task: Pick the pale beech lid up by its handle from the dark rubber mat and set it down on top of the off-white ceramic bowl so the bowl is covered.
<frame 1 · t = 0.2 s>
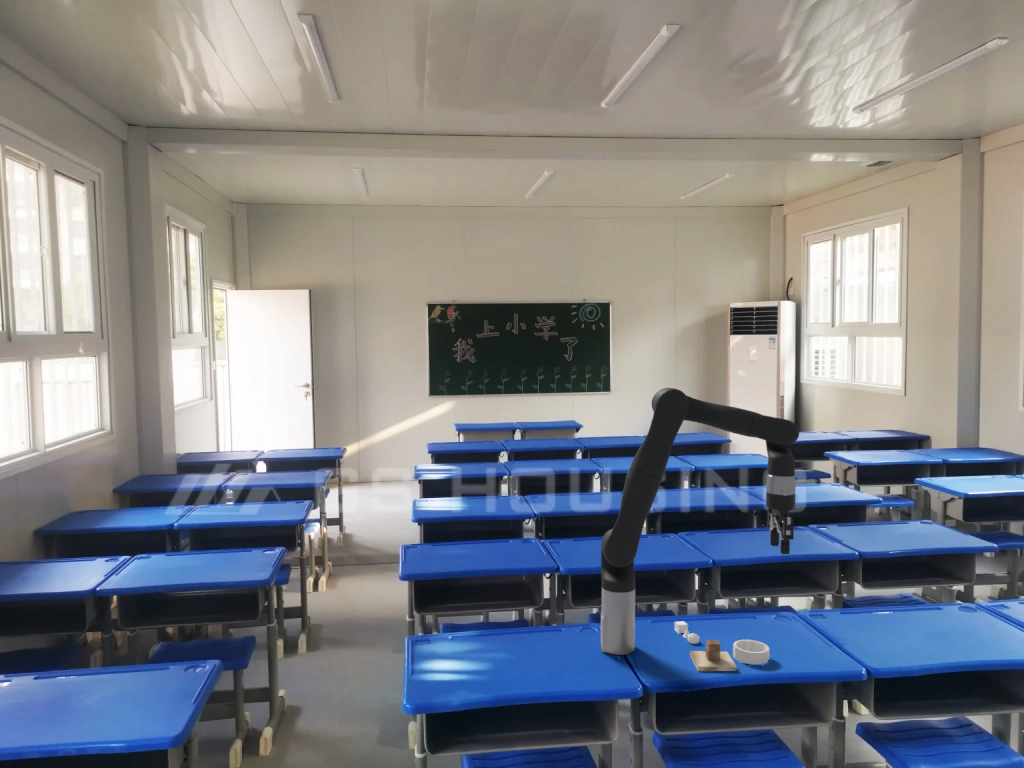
hand: (779, 549, 197), 29 cm above the table, fingers open, 8 cm apart
bowl: (751, 660, 192), on the table
lid: (712, 663, 189), resting on mat
mat: (712, 664, 189), on the table
game pieces: (687, 639, 208), on the table
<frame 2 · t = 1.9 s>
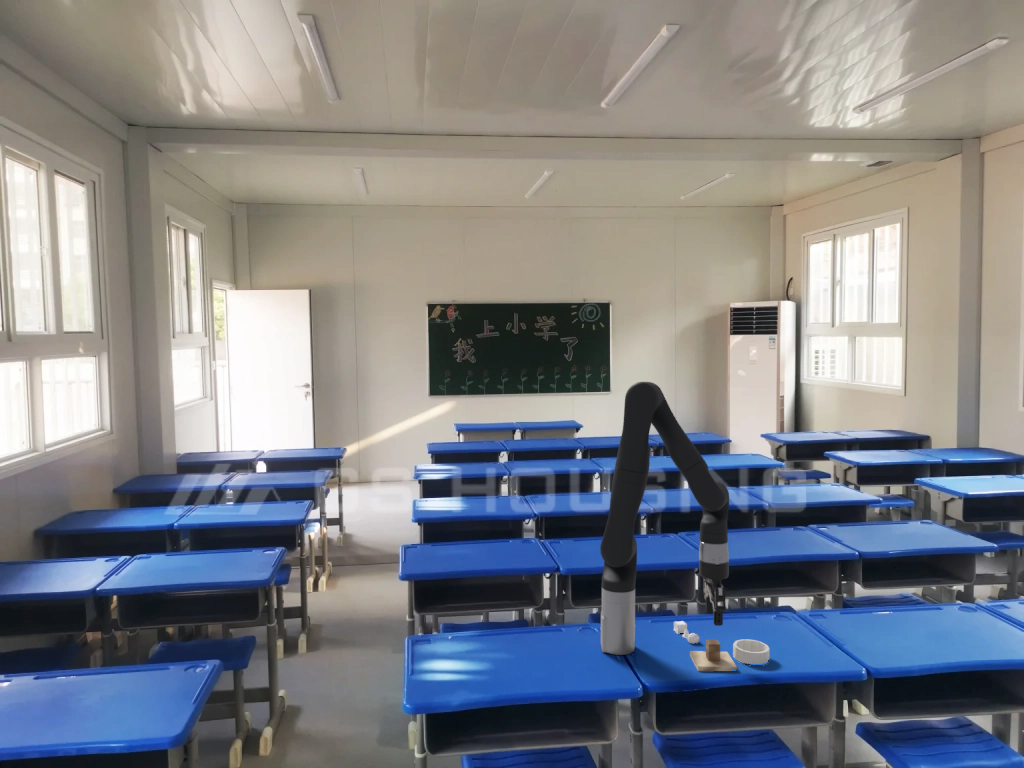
hand: (714, 619, 189), 12 cm above the table, fingers open, 8 cm apart
nothing on the table moved.
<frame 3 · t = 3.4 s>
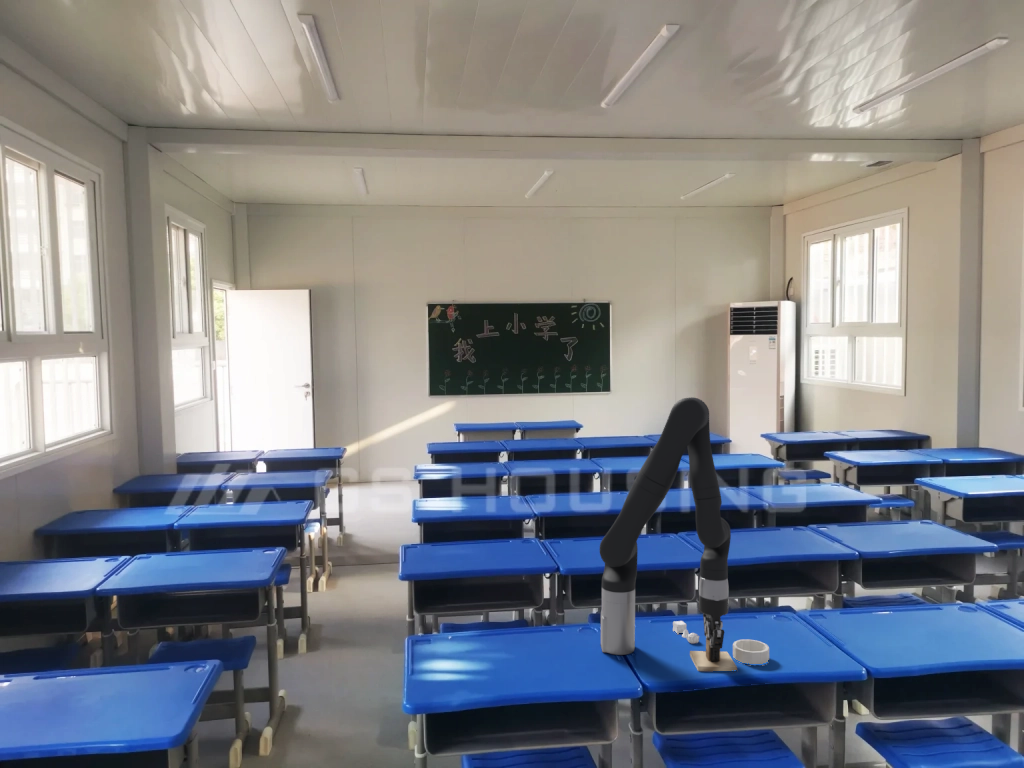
hand: (712, 658, 189), 2 cm above the table, fingers closed on lid, 3 cm apart
lid: (712, 663, 189), resting on mat, touching gripper
everything else where it was.
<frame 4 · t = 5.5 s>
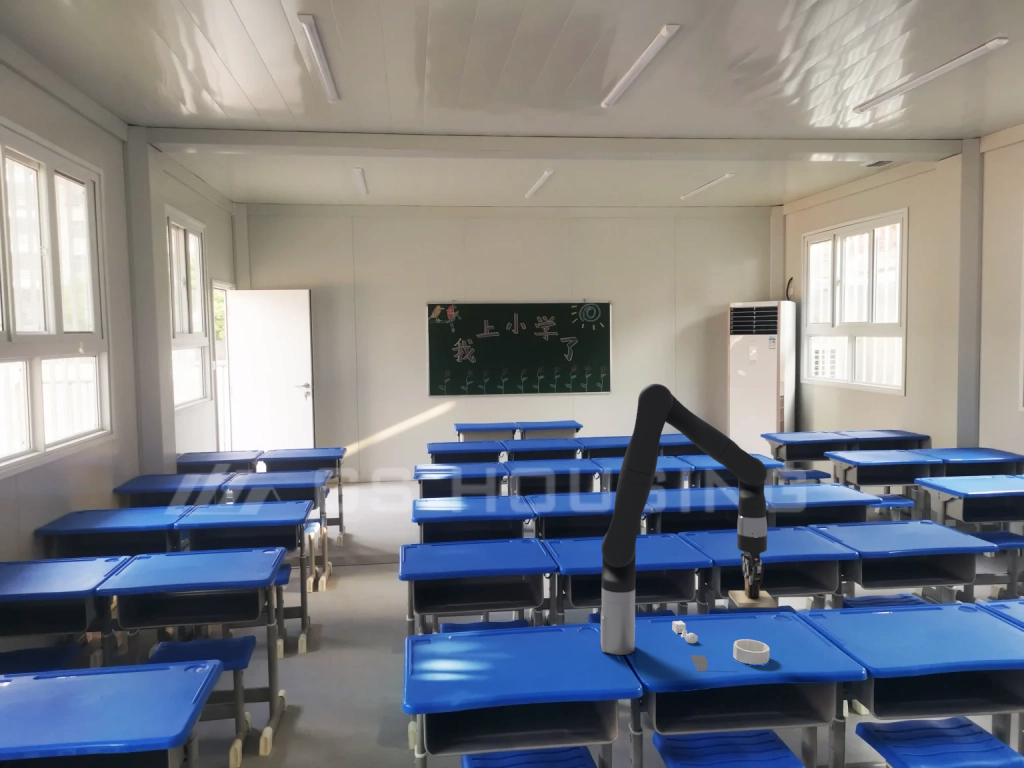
hand: (752, 596, 191), 17 cm above the table, fingers closed on lid, 3 cm apart
lid: (752, 601, 192), point 16 cm above the table, touching gripper
everything else where it was.
when the fingers open (7 cm above the table, at t = 7.8 s): lid drops 1 cm, resting on bowl.
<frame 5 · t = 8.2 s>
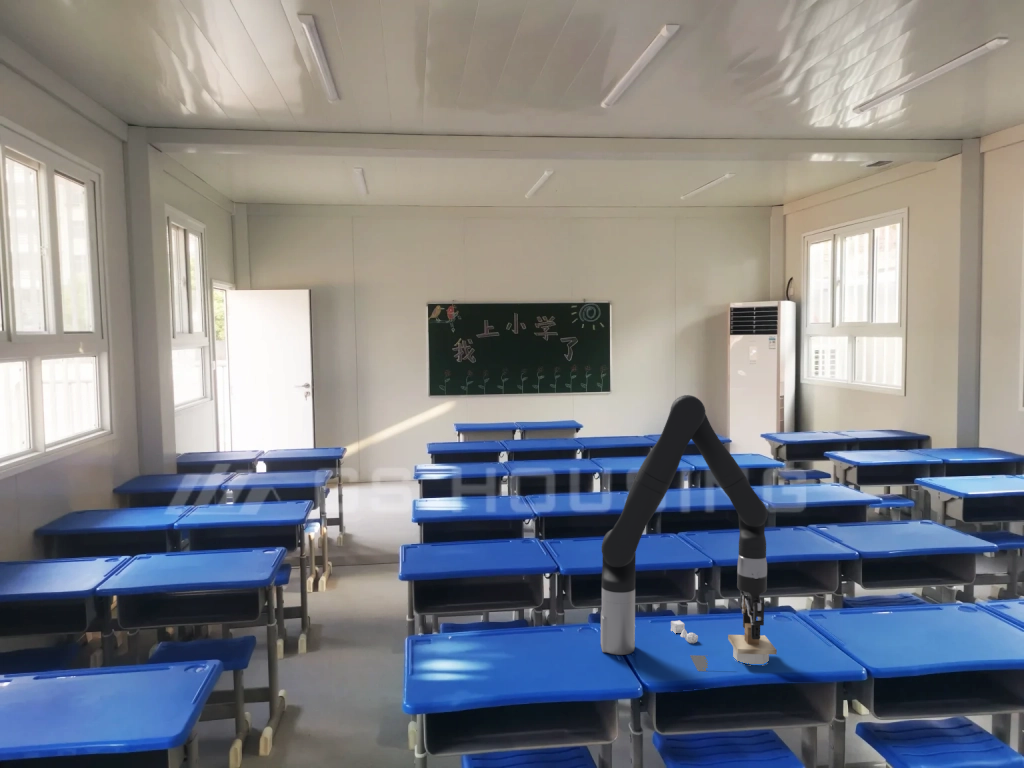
hand: (751, 633, 192), 7 cm above the table, fingers open, 7 cm apart
bowl: (750, 661, 192), on the table, touching lid
lid: (751, 646, 192), point 4 cm above the table, touching bowl
everything else where it was.
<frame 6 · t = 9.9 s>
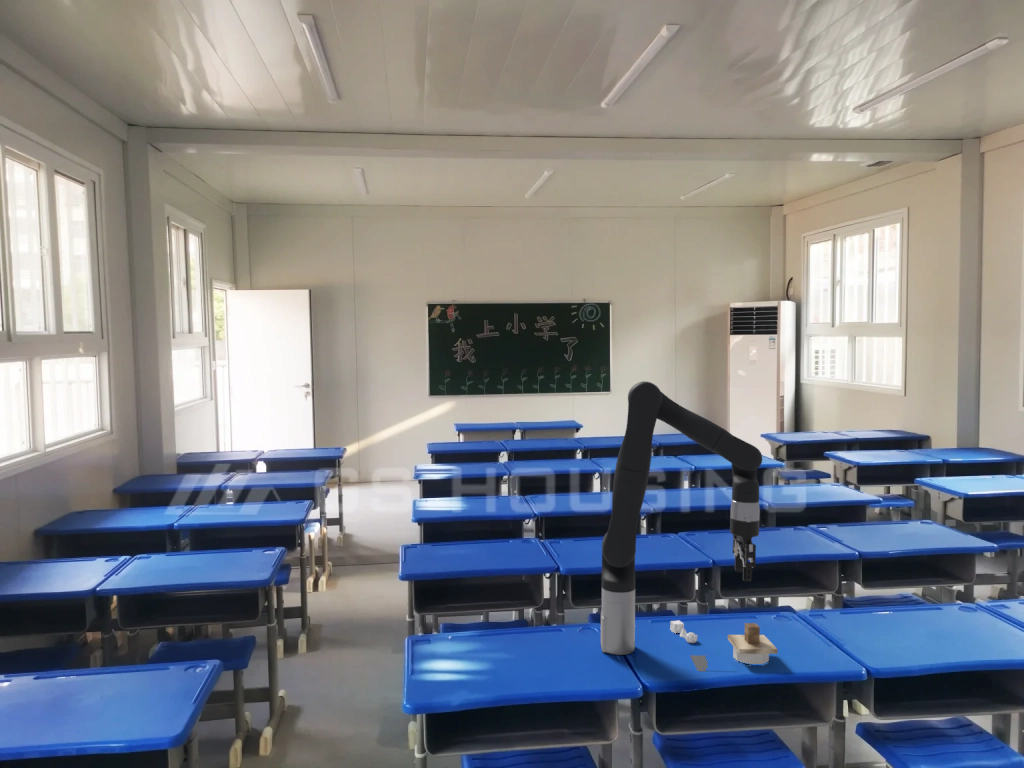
hand: (743, 576, 194), 22 cm above the table, fingers open, 8 cm apart
nothing on the table moved.
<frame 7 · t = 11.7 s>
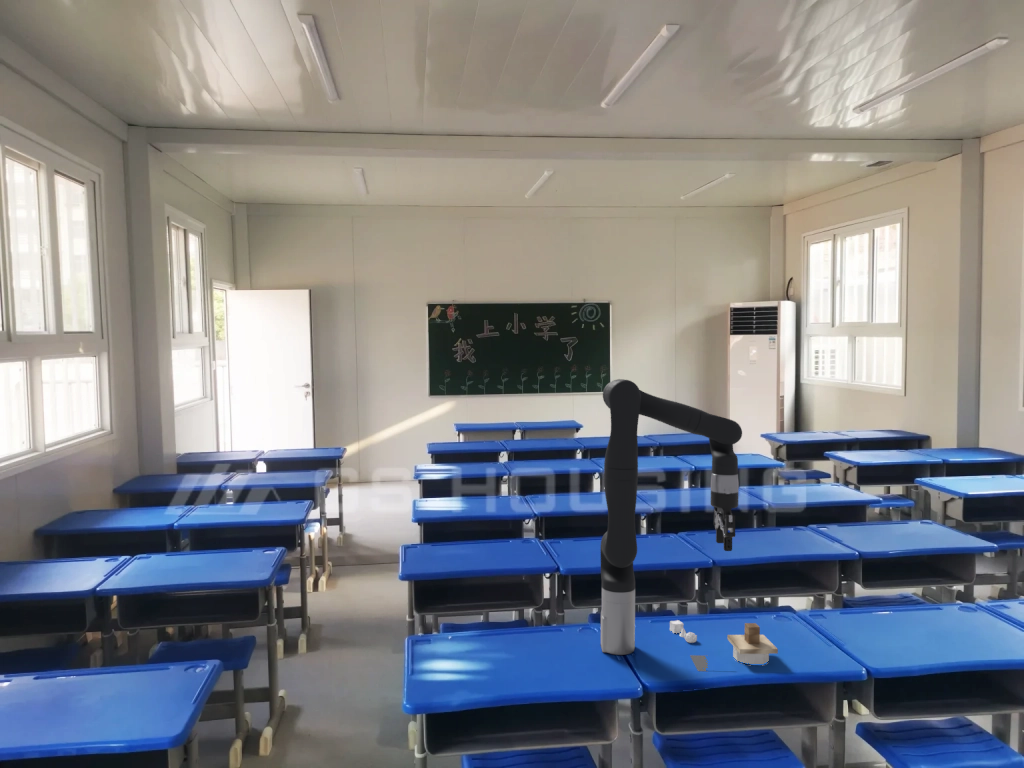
hand: (723, 546, 202), 28 cm above the table, fingers open, 8 cm apart
at the end: lid 0.4 cm off-centre on the bowl, point 4.0 cm above the bowl's base; lid tilted 0°; the gripper is holding nothing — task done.
